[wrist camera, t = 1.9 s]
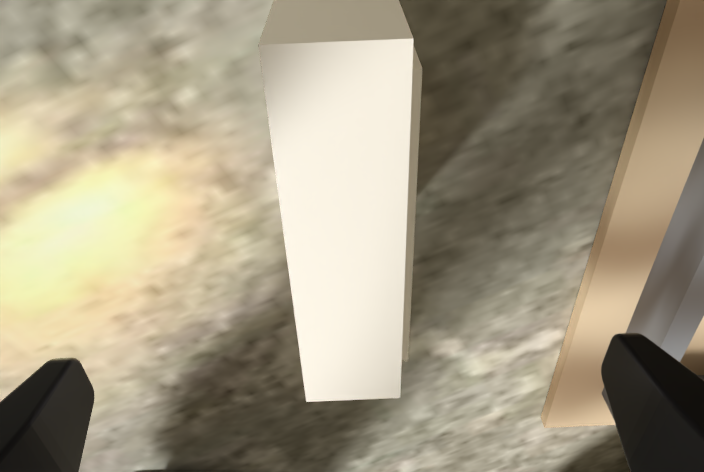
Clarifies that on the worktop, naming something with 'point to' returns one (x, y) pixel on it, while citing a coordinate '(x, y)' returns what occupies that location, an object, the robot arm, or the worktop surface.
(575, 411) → the track board
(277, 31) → the door panel
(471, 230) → the worktop surface
